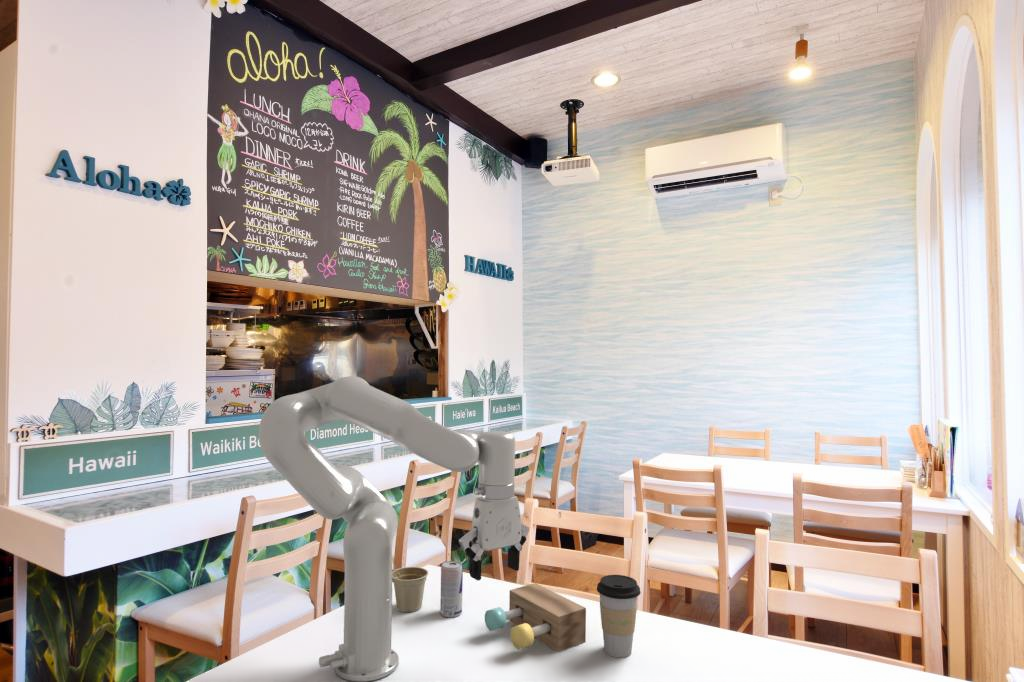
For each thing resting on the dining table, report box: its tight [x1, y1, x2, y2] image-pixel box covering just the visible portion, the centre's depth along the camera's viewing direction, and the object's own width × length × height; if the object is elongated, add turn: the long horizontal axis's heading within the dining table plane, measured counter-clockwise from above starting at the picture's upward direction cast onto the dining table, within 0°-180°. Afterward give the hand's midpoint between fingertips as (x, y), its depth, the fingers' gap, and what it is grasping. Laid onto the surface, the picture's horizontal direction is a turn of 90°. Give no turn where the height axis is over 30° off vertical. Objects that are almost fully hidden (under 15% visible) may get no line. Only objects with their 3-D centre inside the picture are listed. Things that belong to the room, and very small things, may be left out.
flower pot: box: [392, 566, 429, 613], centre depth 151 cm, size 9×9×9 cm
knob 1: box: [484, 606, 523, 632], centre depth 139 cm, size 11×4×4 cm, turn 127°
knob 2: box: [509, 623, 551, 650], centre depth 131 cm, size 11×4×4 cm, turn 127°
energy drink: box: [439, 560, 464, 619], centre depth 148 cm, size 5×5×12 cm
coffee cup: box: [596, 574, 642, 658], centre depth 130 cm, size 9×9×15 cm
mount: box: [508, 582, 587, 653], centre depth 139 cm, size 8×18×8 cm, turn 37°
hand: (494, 573), depth 125 cm, fingers open, 9 cm apart
